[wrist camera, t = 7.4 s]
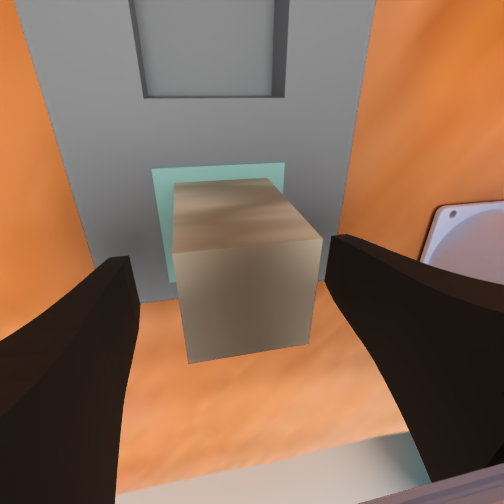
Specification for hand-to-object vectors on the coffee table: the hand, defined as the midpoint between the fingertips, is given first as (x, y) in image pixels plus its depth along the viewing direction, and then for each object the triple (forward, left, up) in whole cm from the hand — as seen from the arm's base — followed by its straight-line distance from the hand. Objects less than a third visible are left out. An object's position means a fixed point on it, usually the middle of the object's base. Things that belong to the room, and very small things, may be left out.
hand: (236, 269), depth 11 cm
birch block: (0, 0, -4) cm, 4 cm away
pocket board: (0, -4, -6) cm, 8 cm away
